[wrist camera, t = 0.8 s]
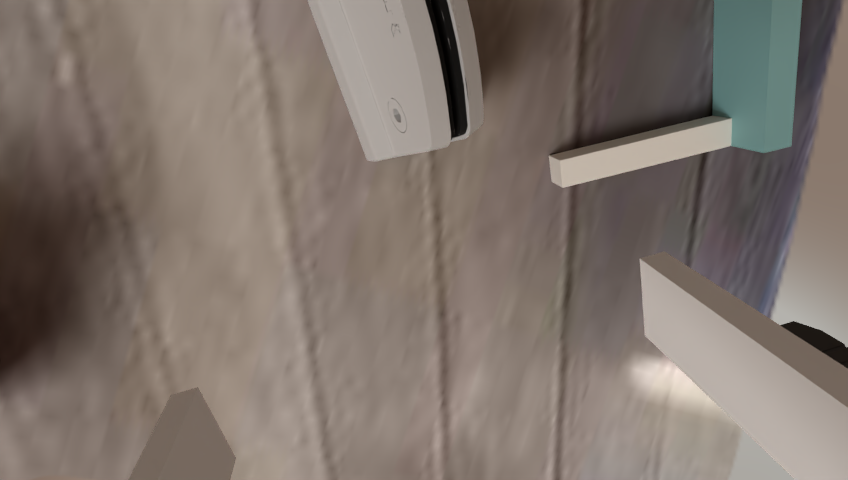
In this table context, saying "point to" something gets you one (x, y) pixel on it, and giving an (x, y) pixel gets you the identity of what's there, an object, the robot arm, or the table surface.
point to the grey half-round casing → (404, 71)
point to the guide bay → (716, 98)
